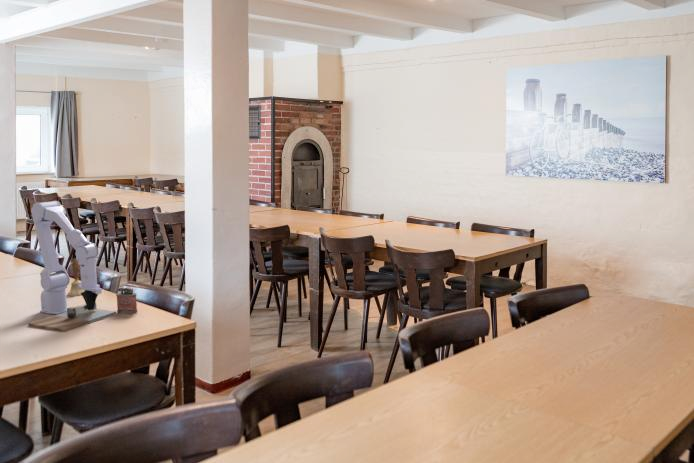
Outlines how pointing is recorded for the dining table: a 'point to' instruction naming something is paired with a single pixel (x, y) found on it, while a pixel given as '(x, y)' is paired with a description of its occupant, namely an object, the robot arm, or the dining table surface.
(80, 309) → the lock bar
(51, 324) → the plate
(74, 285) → the hand bell
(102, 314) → the door plate
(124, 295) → the red tin can
